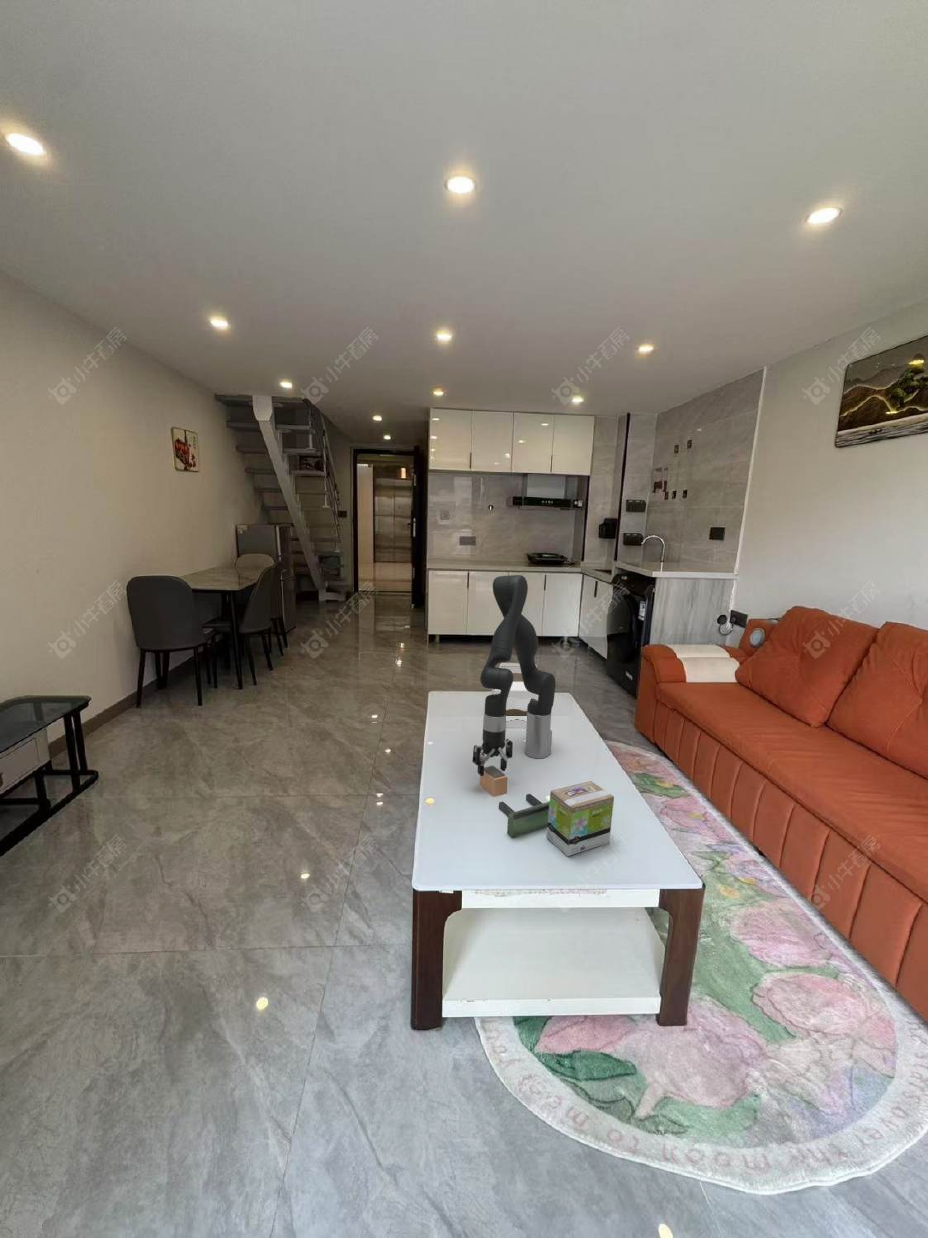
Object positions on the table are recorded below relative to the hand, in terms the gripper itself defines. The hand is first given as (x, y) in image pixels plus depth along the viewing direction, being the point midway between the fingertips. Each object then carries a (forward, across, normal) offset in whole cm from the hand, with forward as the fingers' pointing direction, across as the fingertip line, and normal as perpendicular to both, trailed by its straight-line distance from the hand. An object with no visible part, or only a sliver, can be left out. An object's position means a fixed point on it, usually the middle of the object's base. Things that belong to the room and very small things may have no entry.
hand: (491, 772), depth 167 cm
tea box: (+6, -7, +35) cm, 36 cm away
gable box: (+5, -41, -45) cm, 61 cm away
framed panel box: (+6, -1, 0) cm, 6 cm away
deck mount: (+6, -2, +19) cm, 20 cm away
